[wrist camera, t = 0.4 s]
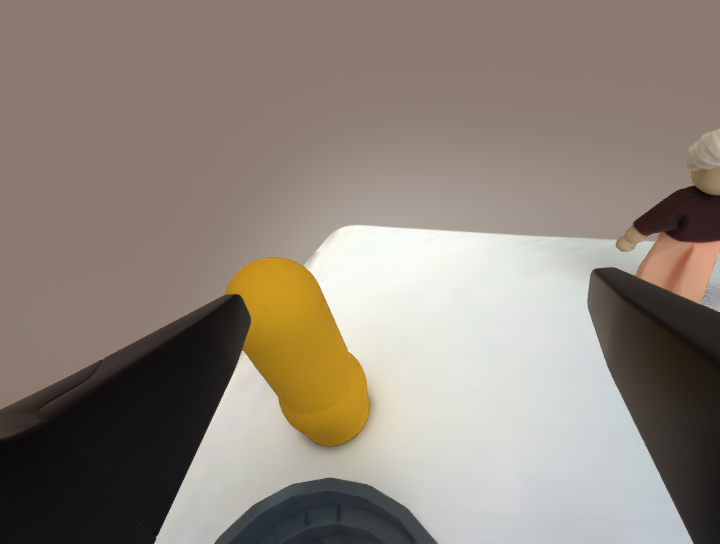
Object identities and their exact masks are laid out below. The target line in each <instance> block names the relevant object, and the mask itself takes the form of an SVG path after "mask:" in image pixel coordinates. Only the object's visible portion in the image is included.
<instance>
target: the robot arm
mask: <svg viewBox="0 0 720 544" xmlns="http://www.w3.org/2000/svg"><path fill="white" fill-rule="evenodd" d="M587 303H588V309H589V313H590V316H591V319H592V322H593V325H594V328H595V331H596V334H597V337H598V340H599V343H600V346H601V349H602V352H603V355H604V358H605V360H606V363H607V366H608V368H609V371H610V373H611V375H612V377H613V379H614V381H615V384H616V386H617V388H618V390H619V392H620V394H621V396H622V398H623V400H624V402H625V404H626V406H627V408H628V410H629V412H630V414H631V416H632V418H633V420H634V422H635V425H636V427H637V429H638V431H639V433H640V435H641V437H642V439H643V441H644V443H645V445H646V447H647V449H648V451H649V453H650V455H651V457H652V459H653V461H654V463H655V466H656V468H657V470H658V472H659V474H660V476H661V478H662V480H663V482H664V484H665V486H666V488H667V490H668V492H669V494H670V496H671V498H672V500H673V502H674V504H675V507H676V509H677V511H678V513H679V515H680V517H681V519H682V521H683V523H684V525H685V527H686V529H687V531H688V533H689V535H690V537H691V539H692V541H693V543H694V544H720V312H717V311H715V310H713V309H710V308H708V307H706V306H703V305H701V304H699V303H696V302H694V301H692V300H689V299H687V298H685V297H682V296H680V295H678V294H675V293H673V292H671V291H668V290H666V289H664V288H661V287H659V286H657V285H654V284H652V283H650V282H647V281H645V280H643V279H640V278H638V277H636V276H633V275H631V274H629V273H626V272H624V271H622V270H619V269H617V268H613V267H610V268H597V269H594V270H593V271H592V272H591V275H590V283H589V291H588V299H587ZM250 325H251V316H250V313H249V311H248V309H247V307H246V304H245V302H244V300H243V298H242V296H241V295H239V294H227V295H224V296H222V297H220V298H218V299H216V300H214V301H212V302H210V303H209V304H207V305H205V306H203V307H201V308H199V309H197V310H195V311H193V312H191V313H189V314H188V315H186V316H184V317H182V318H180V319H178V320H176V321H174V322H172V323H170V324H169V325H167V326H165V327H163V328H161V329H159V330H157V331H155V332H153V333H151V334H149V335H147V336H146V337H144V338H142V339H140V340H138V341H136V342H134V343H132V344H130V345H128V346H127V347H125V348H123V349H121V350H119V351H117V352H115V353H113V354H111V355H109V356H108V357H106V358H105V359H104V360H100V361H98V362H96V363H94V364H92V365H90V366H88V367H86V368H84V369H82V370H80V371H79V372H77V373H75V374H73V375H71V376H69V377H67V378H65V379H63V380H61V381H59V382H57V383H55V384H53V385H51V386H49V387H47V388H45V389H43V390H40V391H38V392H37V393H34V394H32V395H30V396H28V397H26V398H24V399H22V400H20V401H18V402H16V403H14V404H11V405H9V406H7V407H5V408H3V409H1V410H0V544H154V543H155V541H156V536H157V535H158V534H159V531H160V529H161V527H162V525H163V523H164V521H165V519H166V516H167V514H168V512H169V510H170V508H171V506H172V504H173V501H174V499H175V497H176V495H177V493H178V491H179V489H180V486H181V484H182V482H183V480H184V478H185V476H186V474H187V471H188V469H189V467H190V465H191V463H192V461H193V459H194V456H195V454H196V452H197V450H198V448H199V446H200V444H201V441H202V439H203V437H204V435H205V433H206V431H207V429H208V426H209V424H210V422H211V420H212V418H213V416H214V414H215V411H216V409H217V407H218V405H219V403H220V401H221V399H222V396H223V394H224V392H225V390H226V388H227V386H228V384H229V381H230V379H231V377H232V375H233V373H234V370H235V368H236V365H237V363H238V360H239V357H240V354H241V351H242V348H243V346H244V343H245V340H246V337H247V334H248V331H249V328H250Z"/></svg>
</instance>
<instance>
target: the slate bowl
mask: <svg viewBox="0 0 720 544" xmlns="http://www.w3.org/2000/svg"><path fill="white" fill-rule="evenodd" d="M214 544H438V543H437V542H436V541H435V540H434V539H433V537H432V536H431V535H430V534H429V533H428V532H427V530H426V529H425V528H424V527H423V526H422V525H421V523H420V522H419V521H418V520H417V519H416V518H415V516H414V515H413V514H412V513H411V512H410V511H409V510H408V509H407V508H406V507H405V506H403V505H402V504H400V503H398V502H397V501H395V500H393V499H392V498H390V497H388V496H387V495H385V494H383V493H382V492H380V491H379V490H377V489H375V488H374V487H372V486H369V485H368V484H362V483H357V482H352V481H346V480H341V479H336V478H325V479H319V480H313V481H308V482H302V483H296V484H292V485H290V486H288V487H286V488H284V489H282V490H280V491H278V492H277V493H275V494H273V495H271V496H269V497H267V498H265V499H263V500H262V501H260V502H258V503H256V504H255V505H253V506H252V507H251V508H250V509H249V510H247V511H246V512H245V513H244V514H243V515H242V516H241V517H240V518H239V519H238V520H237V521H236V522H235V523H234V524H233V525H231V526H230V527H229V528H228V529H227V530H226V531H225V532H224V533H223V534H222V535H221V536H220V537H219V538H218V540H216V542H215V543H214Z"/></svg>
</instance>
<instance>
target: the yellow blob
mask: <svg viewBox="0 0 720 544" xmlns="http://www.w3.org/2000/svg"><path fill="white" fill-rule="evenodd" d="M227 294H239V295H241V296H242V298H243V300H244V302H245V304H246V307H247V309H248V311H249V313H250V316H251V325H250V328H249V331H248V334H247V337H246V340H245V343H244V346H243V348H242V350H243V351H244V352H245V354H246V355H247V356H248V358H249V359H250V360H251V362H252V363H253V364H254V365H255V367H256V368H257V369H258V371H259V372H260V373H261V375H262V376H263V377H264V379H265V380H266V381H267V383H268V384H269V385H270V387H271V388H272V389H273V391H274V392H275V393H276V395H277V396H278V399H279V404H280V407H281V410H282V412H283V414H284V416H285V418H286V419H287V420H288V422H289V423H290V424H291V425H292V426H293V427H294V428H295V429H297V430H299V431H300V432H302V433H304V434H306V435H307V436H308V437H309V438H310V439H311V440H312V441H314V442H315V443H318V444H320V445H324V446H335V445H340V444H343V443H345V442H347V441H349V440H351V439H352V438H353V437H355V436H356V435H357V434H358V433H359V432H360V431H361V429H362V428H363V426H364V425H365V423H366V421H367V418H368V415H369V410H370V403H369V398H368V395H367V382H366V377H365V374H364V371H363V369H362V367H361V365H360V363H359V362H358V361H357V359H356V358H355V357H354V356H353V355H352V354H351V353H349V352H348V350H347V347H346V345H345V343H344V341H343V338H342V336H341V334H340V332H339V329H338V327H337V325H336V323H335V320H334V318H333V316H332V313H331V311H330V309H329V307H328V304H327V302H326V300H325V298H324V295H323V293H322V291H321V289H320V286H319V284H318V282H317V281H316V279H315V278H314V276H313V275H312V274H311V273H310V272H309V271H308V270H307V269H306V268H305V267H303V266H302V265H300V264H299V263H297V262H294V261H292V260H289V259H285V258H279V257H269V258H263V259H260V260H256V261H254V262H251V263H250V264H248V265H246V266H245V267H243V268H242V269H241V270H240V271H239V272H238V273H237V274H236V275H235V276H234V277H233V278H232V280H231V281H230V283H229V285H228V287H227V289H226V292H225V295H227Z"/></svg>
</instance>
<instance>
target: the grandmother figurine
mask: <svg viewBox="0 0 720 544" xmlns="http://www.w3.org/2000/svg"><path fill="white" fill-rule="evenodd" d="M687 154H688V156H689V158H688V159H687V161H686V168H687V169H688V170H691V178H692V181H693V183H694V186H691V187H687V188H684V189H680V190H677V191H676V192H674V193H672V194H671V195H670V196H668V197H667V198H665V199H664V200H663V201H661V202H660V203H658V204H657V205H656V206H654V207H653V208H652V209H650V210H649V211H648V212H646V213H645V214H644V215H642V216H641V217H639V218H638V219H637V220H636V221H634V223H633V225H632V226H631V227H630V228H629V229H628V230H627V231H626V232H625V235H624V236H623V237H621V238H619V239H618V240H617V242H616V247H617V249H619V250H620V251H622V252H629V251H631V250H633V249H634V248H635V246H636V244H637V243H639V242H641V241H643V240H644V239H645V238H646V237H647V236H648V235H651V234H653V233H659V232H660V234H659V236H658V239H657V241H656V243H655V244H654V245H653V247H652V248H651V249H650V251H649V252H648V254H647V256H646V257H645V259H644V260H643V261H642V263H641V264H640V266H639V268H638V271H637V273H636V275H635V276H636V277H638V278H640V279H643V280H645V281H647V282H650V283H652V284H654V285H657V286H659V287H661V288H664V289H666V290H668V291H671V292H673V293H675V294H678V295H680V296H682V297H685V298H687V299H689V300H692V301H694V302H696V303H699V304H701V302H702V299H703V296H704V294H705V291H706V288H707V285H708V283H709V280H710V276H711V273H712V271H713V268H714V265H715V263H716V260H717V257H718V254H719V251H720V129H717V130H715V131H711V132H708V133H705V134H703V135H702V137H701V138H700V139H699V140H698V141H697V142H696V143H695V144H694V145H692V146H691V147H690V148H689V151H688V153H687Z"/></svg>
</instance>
